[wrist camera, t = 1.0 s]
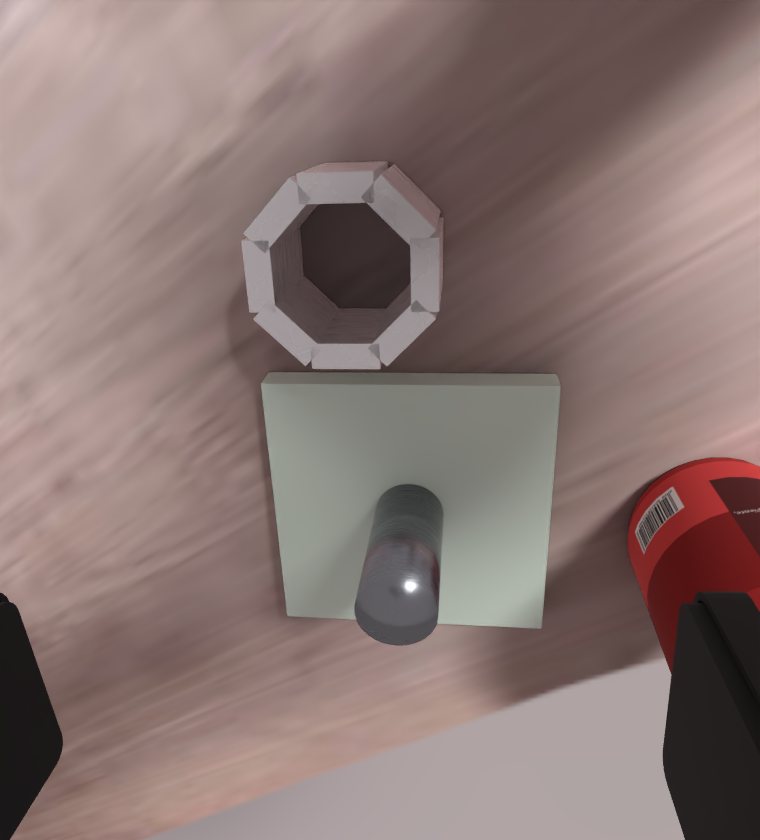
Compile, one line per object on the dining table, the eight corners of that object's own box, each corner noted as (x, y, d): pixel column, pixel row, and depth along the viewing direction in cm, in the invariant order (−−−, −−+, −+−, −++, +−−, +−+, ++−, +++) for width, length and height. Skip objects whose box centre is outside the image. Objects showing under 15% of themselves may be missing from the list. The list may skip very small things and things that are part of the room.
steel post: (374, 483, 32) (352, 576, 25) (443, 484, 31) (438, 579, 25) (377, 540, 33) (356, 643, 27) (443, 543, 33) (438, 647, 26)
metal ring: (271, 164, 28) (233, 175, 23) (443, 159, 27) (439, 169, 22) (286, 330, 31) (256, 368, 26) (442, 330, 30) (438, 369, 25)
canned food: (630, 602, 35) (697, 800, 25) (614, 465, 32) (683, 628, 22) (794, 583, 33) (935, 787, 23) (793, 438, 30) (956, 600, 20)
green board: (269, 371, 32) (260, 383, 30) (556, 373, 30) (560, 386, 29) (293, 597, 37) (287, 616, 36) (538, 608, 35) (541, 628, 34)
